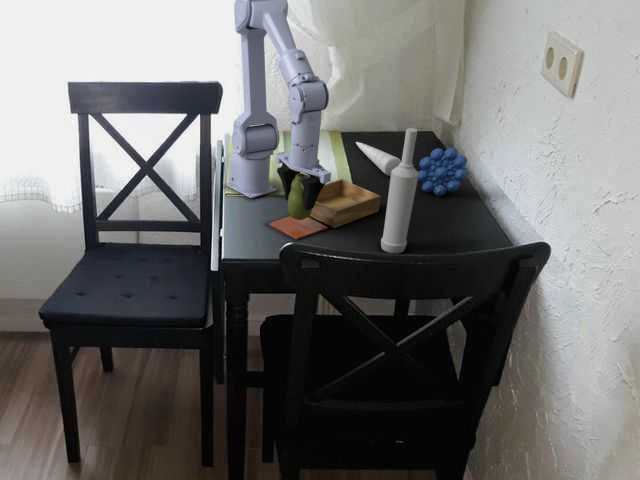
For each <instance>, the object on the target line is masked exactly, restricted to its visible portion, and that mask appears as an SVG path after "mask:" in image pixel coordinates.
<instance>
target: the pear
mask: <svg viewBox="0 0 640 480" xmlns="http://www.w3.org/2000/svg"><path fill="white" fill-rule="evenodd" d="M309 177H310V176H309V175H307V174H305V173H302V172H300V174H296V177H295V178H294V180H293V181H292V184H291V191H290V194H289V198H288V201H287V208H286V209H287V213H288V215H289V216H291V217H292V218H294V219H296V220H303V219H306V218H307V217H309V218H310V217H311V216H310V214H311V212H312V209H310V210H305V207H304V188H303V184H302V180H303V179H306V178H309Z"/></svg>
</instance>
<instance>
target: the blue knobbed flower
mask: <svg viewBox="0 0 640 480" xmlns="http://www.w3.org/2000/svg"><path fill="white" fill-rule="evenodd" d="M458 153H459V152H458V149H457V148H455V147H449V148H446V150H443V149H442V148H439V147H438V148H437V147H436V148H435V149H432V151H431V152H430V155H429V157H428V156H426V157H423V158H421V160H420V161H419V164H418V165H419V168H420V169H421V170H419V171H417V172H418V174H419V175H418V180H417V182H420V183H422V185H421V189H422V191H423V192H424V193H430V192H432V191H433V194H434V195H435V196H437V197H441V196H444V195H445V194H446V193H447V191H449V192H451V193H452V192H455V191H457V190H459V188H460V186H461V182H460V181H463V180H466V179H467V178H468V176H469V170H468V168H466V165H467V164H468V158H467V157H466V155H463V154H460V155H458Z"/></svg>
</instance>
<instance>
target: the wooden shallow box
mask: <svg viewBox="0 0 640 480" xmlns="http://www.w3.org/2000/svg"><path fill="white" fill-rule="evenodd" d="M381 197H382V196H381V195H379V194H377V193H376V192H373V191H370V190H368V189H366V188H364V187H361V186H359V185H357V184H354V183H352V182H350V181H347V180H345V179H343V178H340V179H337V180H334V181H330V182H327V183H326V184H325V185H324V187H323V188H322V190H321V191H320V193H319V195H318V198H317V200H316V203H315V206H314V208H313V209H312V212H311V214H310V216H309V217H310V218H313V219H314V220H317V221H318V222H319V221H320V222H321V223H322V224H326V225H328V226H329V227H332V228H334V229H335V228H337V227H341V226H344V225H346V224H348V223H352V222H354V221H357V220H359V219H362V218H365V217H368V216H370V215H373V214H376V213H379V212H380V205H381Z"/></svg>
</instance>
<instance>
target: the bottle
mask: <svg viewBox="0 0 640 480" xmlns="http://www.w3.org/2000/svg"><path fill="white" fill-rule="evenodd" d="M417 136H418V129H417V128H414V127H408V128H406V130H405V136H404V144H403V149H402V155H401V163H399V166H397V167H396V168H394V169H393V170H392V171H391V176H390V178H389V179H390V180H389V188H388V196H387V203H386V211H385V219H384V225H383V226H384V227H383V234H382V237H381V239H380V247H381V250H383V251H384V252H387V253H390V254H401V253H404V251H405V250H406V247H407V245H408V240H407V237H408V232H409V227H410V221H411V217H412V216H411V215H412V211H413V205H414V200H415V195H416V190H417V185H418V175H419V174H418V172H419V171H417V170H416V168H415V167H414V163H413V158H414V153H415V147H416V146H415V145H416V140H417Z"/></svg>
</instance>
